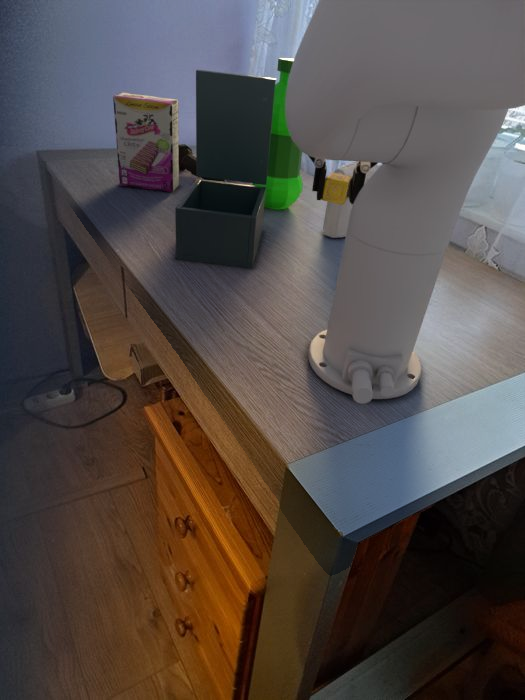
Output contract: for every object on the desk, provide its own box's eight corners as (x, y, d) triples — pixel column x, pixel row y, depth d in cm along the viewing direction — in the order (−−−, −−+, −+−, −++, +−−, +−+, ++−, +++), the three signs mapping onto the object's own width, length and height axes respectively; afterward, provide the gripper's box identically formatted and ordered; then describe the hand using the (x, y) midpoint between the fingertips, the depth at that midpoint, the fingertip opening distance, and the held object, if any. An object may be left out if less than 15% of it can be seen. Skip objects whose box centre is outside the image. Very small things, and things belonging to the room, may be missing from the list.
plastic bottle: (305, 215, 93) (326, 65, 78) (250, 212, 92) (261, 59, 77) (298, 198, 101) (316, 59, 86) (248, 195, 100) (258, 53, 85)
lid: (275, 79, 69) (278, 72, 74) (195, 70, 70) (203, 63, 74) (266, 185, 79) (269, 173, 83) (196, 176, 79) (203, 165, 84)
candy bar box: (118, 186, 97) (111, 95, 87) (127, 179, 101) (120, 91, 91) (173, 193, 96) (172, 102, 87) (179, 186, 100) (178, 98, 91)
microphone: (235, 203, 103) (179, 167, 113) (244, 177, 101) (187, 142, 110) (217, 200, 99) (160, 162, 109) (227, 173, 97) (168, 137, 106)
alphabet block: (348, 199, 65) (353, 175, 63) (344, 205, 62) (348, 181, 61) (326, 195, 66) (330, 171, 64) (321, 201, 63) (324, 177, 61)
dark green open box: (252, 268, 72) (256, 218, 68) (175, 258, 73) (175, 208, 68) (262, 231, 84) (266, 187, 80) (196, 223, 85) (196, 178, 80)
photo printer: (360, 224, 91) (375, 156, 84) (376, 232, 89) (392, 163, 82) (318, 232, 86) (330, 160, 79) (333, 241, 84) (347, 167, 76)
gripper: (287, 26, 51) (270, 200, 61) (445, 42, 50) (402, 215, 60) (290, 26, 57) (275, 184, 67) (432, 41, 56) (394, 198, 67)
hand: (335, 197), depth 64 cm, fingers closed on alphabet block, 3 cm apart
